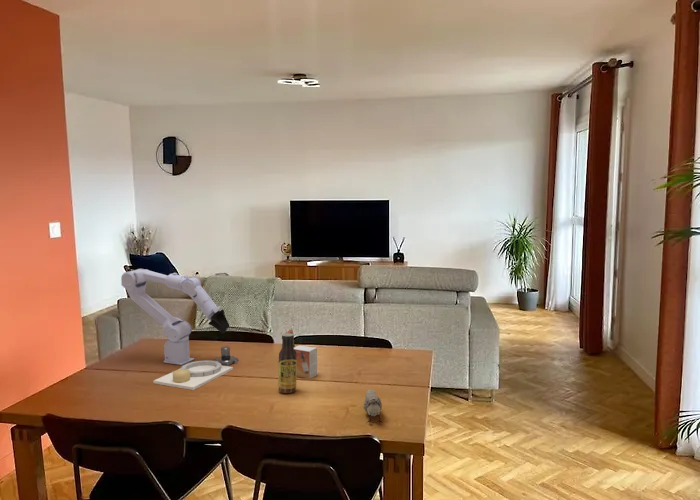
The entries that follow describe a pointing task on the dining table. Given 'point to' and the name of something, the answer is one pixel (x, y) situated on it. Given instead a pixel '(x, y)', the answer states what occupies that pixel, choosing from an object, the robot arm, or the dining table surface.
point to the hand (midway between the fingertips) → (226, 330)
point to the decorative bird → (372, 405)
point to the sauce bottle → (287, 365)
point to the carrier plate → (193, 379)
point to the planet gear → (226, 357)
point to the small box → (306, 361)
